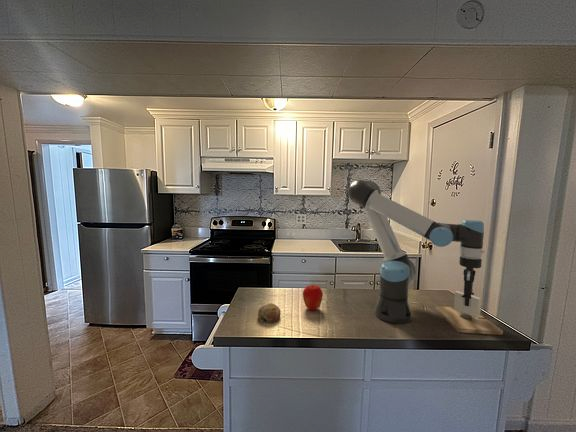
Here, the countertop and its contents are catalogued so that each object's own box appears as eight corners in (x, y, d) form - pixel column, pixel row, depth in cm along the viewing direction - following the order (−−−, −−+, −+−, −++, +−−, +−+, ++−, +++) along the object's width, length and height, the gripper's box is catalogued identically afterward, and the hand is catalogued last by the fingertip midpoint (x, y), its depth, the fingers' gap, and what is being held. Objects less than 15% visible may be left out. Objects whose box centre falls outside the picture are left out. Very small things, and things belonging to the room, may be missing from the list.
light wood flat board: (458, 332, 101) (458, 327, 101) (435, 309, 121) (435, 305, 120) (502, 334, 99) (503, 330, 99) (472, 311, 119) (472, 307, 119)
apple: (321, 304, 124) (321, 280, 123) (323, 313, 115) (324, 287, 114) (302, 304, 125) (302, 280, 123) (303, 313, 116) (303, 287, 114)
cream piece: (475, 323, 105) (477, 299, 104) (452, 314, 112) (453, 292, 112) (486, 317, 110) (488, 294, 109) (463, 309, 117) (464, 288, 117)
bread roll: (256, 327, 111) (252, 314, 107) (265, 308, 119) (261, 296, 115) (277, 331, 107) (274, 318, 103) (285, 311, 116) (282, 299, 112)
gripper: (481, 262, 98) (476, 321, 101) (482, 254, 111) (478, 306, 113) (457, 259, 103) (454, 315, 105) (461, 252, 116) (458, 302, 118)
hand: (466, 310), depth 109 cm, fingers closed on cream piece, 4 cm apart
